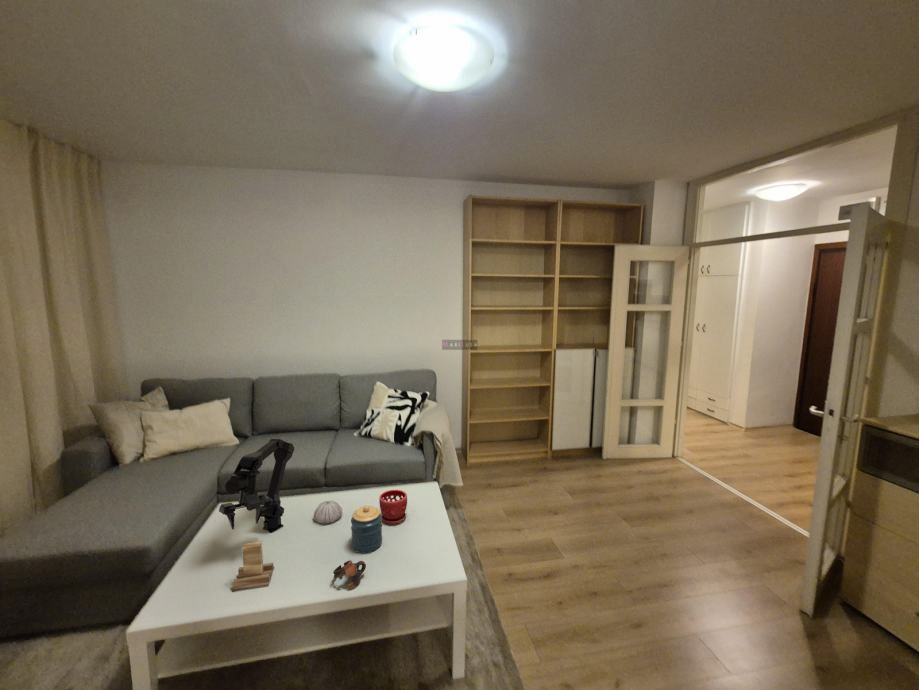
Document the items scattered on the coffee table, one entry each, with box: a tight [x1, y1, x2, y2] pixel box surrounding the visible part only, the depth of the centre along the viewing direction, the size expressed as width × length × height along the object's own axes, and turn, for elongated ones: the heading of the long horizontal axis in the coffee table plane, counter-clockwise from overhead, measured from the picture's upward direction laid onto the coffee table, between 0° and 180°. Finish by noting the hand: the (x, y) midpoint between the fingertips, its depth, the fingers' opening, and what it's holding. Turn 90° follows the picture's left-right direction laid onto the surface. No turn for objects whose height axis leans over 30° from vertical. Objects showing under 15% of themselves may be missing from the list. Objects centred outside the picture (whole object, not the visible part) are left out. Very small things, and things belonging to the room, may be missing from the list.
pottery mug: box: [332, 559, 367, 591], centre depth 149 cm, size 12×10×8 cm
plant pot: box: [378, 489, 408, 525], centre depth 189 cm, size 13×13×12 cm
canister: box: [350, 504, 383, 554], centre depth 170 cm, size 13×13×18 cm
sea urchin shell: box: [312, 500, 343, 524], centre depth 190 cm, size 13×14×8 cm
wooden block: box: [241, 541, 264, 578], centre depth 148 cm, size 3×6×13 cm, turn 105°
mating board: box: [232, 562, 275, 593], centre depth 149 cm, size 10×12×3 cm
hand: (244, 526), depth 162 cm, fingers open, 9 cm apart
